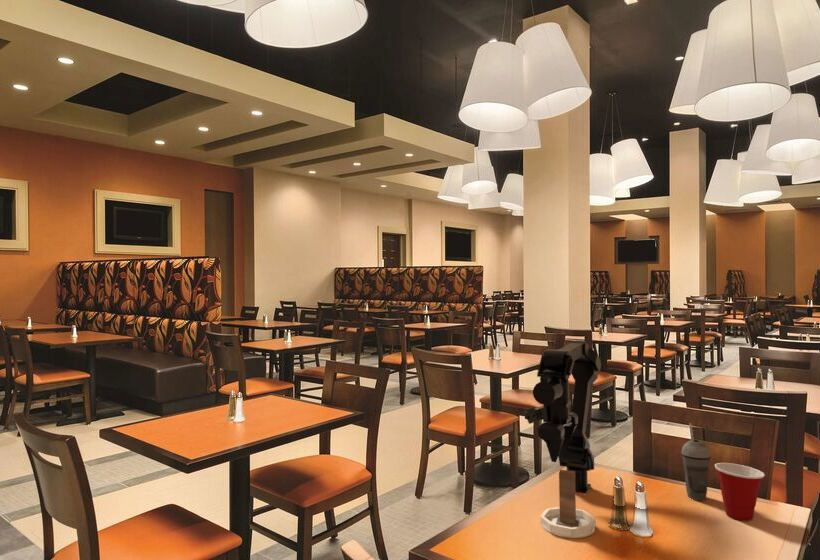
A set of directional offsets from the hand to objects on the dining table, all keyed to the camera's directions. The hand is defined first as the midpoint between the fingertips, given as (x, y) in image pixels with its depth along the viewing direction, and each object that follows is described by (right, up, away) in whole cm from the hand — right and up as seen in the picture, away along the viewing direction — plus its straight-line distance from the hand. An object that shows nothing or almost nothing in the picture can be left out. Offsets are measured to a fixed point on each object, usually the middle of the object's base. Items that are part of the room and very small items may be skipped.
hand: (558, 456), depth 145 cm
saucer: (-1, -13, -12) cm, 18 cm away
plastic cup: (+43, -13, -8) cm, 46 cm away
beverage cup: (+39, -13, +4) cm, 41 cm away
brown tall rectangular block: (-1, -12, -12) cm, 17 cm away
